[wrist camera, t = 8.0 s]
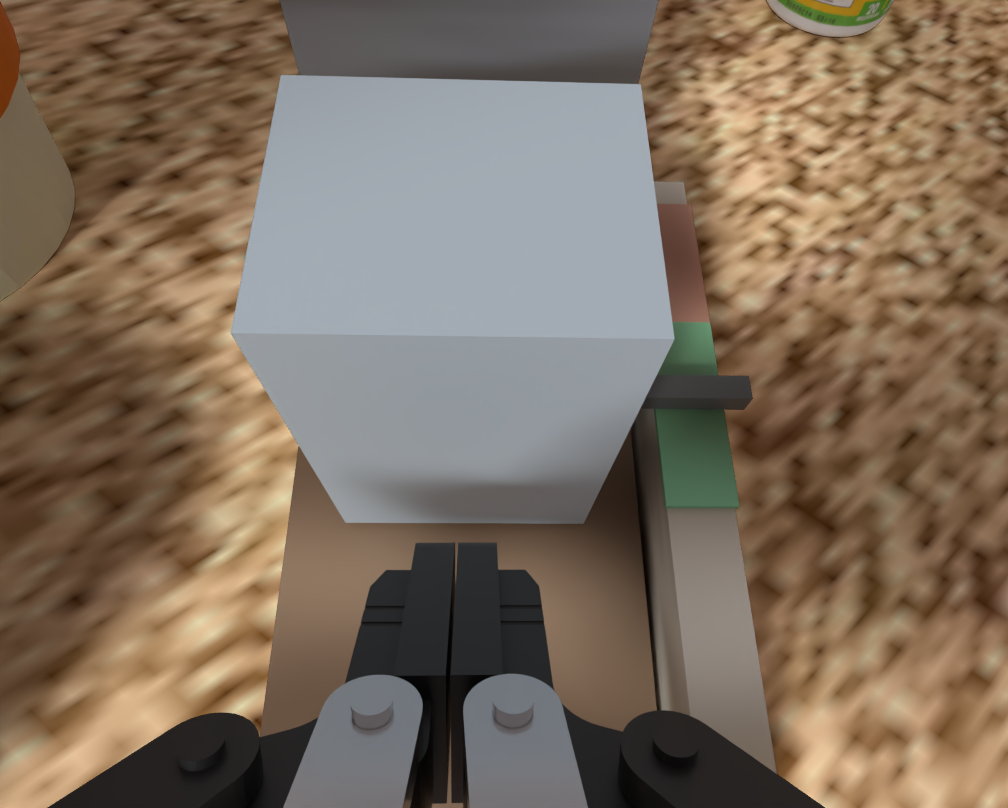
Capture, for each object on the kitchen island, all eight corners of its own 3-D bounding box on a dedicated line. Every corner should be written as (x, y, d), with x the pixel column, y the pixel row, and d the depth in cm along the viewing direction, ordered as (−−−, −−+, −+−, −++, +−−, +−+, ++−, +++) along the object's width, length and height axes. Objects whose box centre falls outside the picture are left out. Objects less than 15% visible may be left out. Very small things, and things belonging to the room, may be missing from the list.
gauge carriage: (727, 524, 18) (938, 342, 10) (345, 522, 17) (230, 333, 9) (688, 266, 21) (818, -25, 13) (370, 261, 21) (303, -42, 13)
